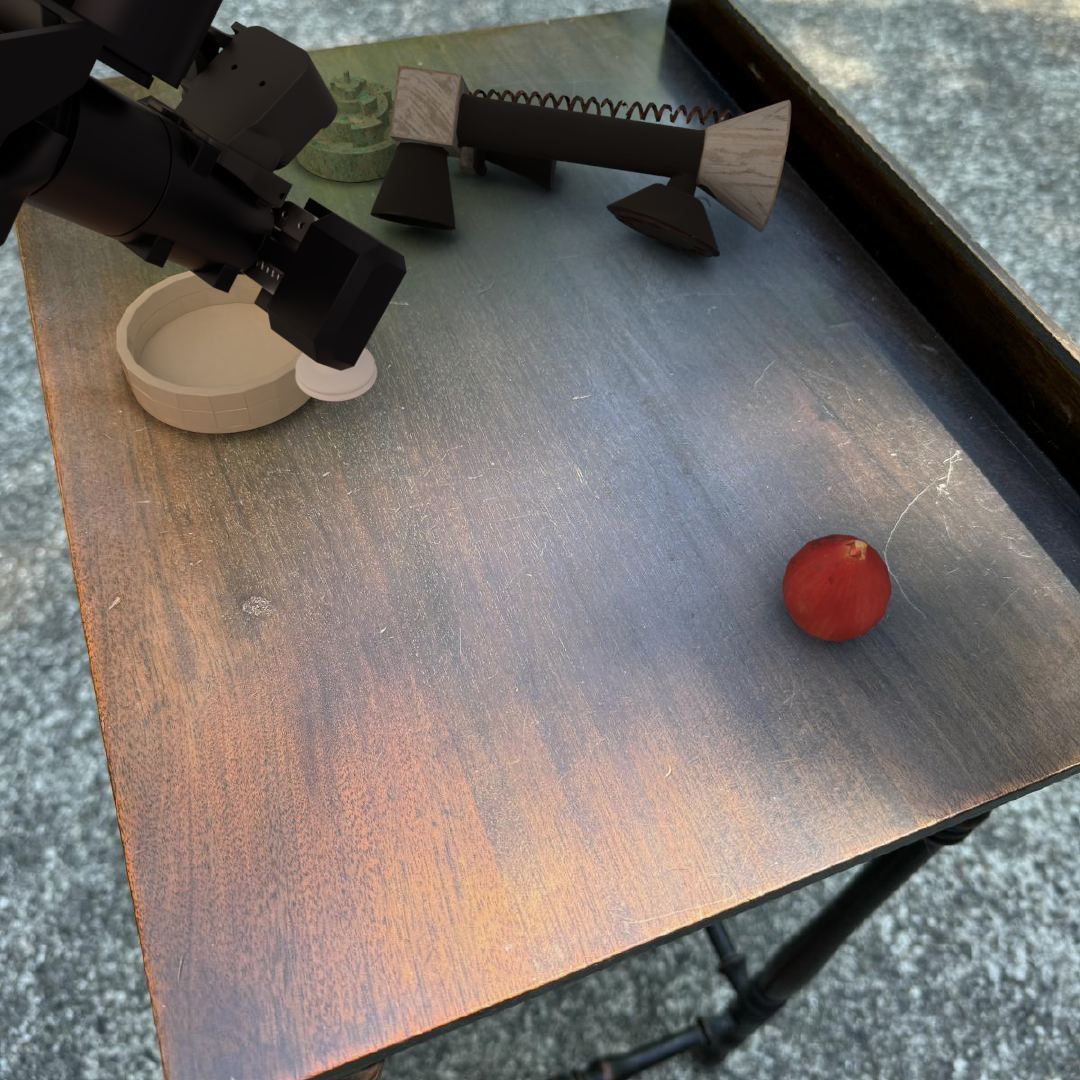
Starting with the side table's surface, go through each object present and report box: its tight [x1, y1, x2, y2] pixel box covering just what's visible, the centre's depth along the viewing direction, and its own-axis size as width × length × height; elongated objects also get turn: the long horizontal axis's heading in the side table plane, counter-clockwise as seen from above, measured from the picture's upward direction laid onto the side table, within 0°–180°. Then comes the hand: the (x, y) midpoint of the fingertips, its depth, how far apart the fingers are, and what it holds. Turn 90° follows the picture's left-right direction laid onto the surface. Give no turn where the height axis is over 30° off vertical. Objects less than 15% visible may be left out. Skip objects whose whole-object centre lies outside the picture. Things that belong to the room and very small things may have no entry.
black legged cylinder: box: [370, 65, 792, 258], centre depth 80 cm, size 15×13×30 cm
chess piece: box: [295, 347, 378, 402], centre depth 58 cm, size 5×5×10 cm
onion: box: [781, 533, 892, 643], centre depth 57 cm, size 6×6×8 cm
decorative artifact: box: [295, 69, 397, 183], centre depth 86 cm, size 10×7×10 cm
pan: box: [115, 270, 312, 435], centre depth 70 cm, size 13×13×4 cm
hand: (343, 275), depth 58 cm, fingers closed on chess piece
